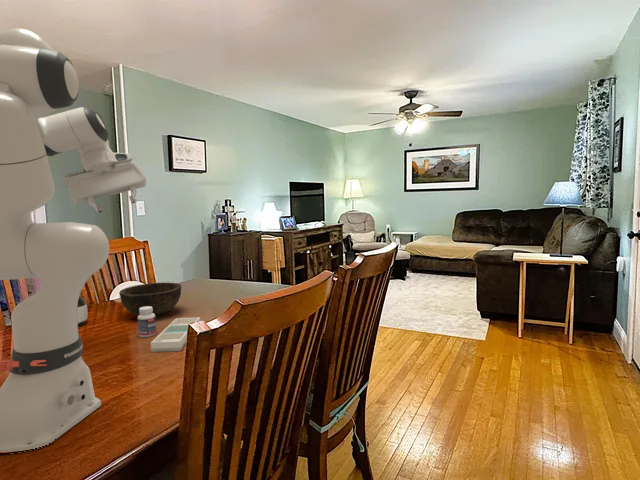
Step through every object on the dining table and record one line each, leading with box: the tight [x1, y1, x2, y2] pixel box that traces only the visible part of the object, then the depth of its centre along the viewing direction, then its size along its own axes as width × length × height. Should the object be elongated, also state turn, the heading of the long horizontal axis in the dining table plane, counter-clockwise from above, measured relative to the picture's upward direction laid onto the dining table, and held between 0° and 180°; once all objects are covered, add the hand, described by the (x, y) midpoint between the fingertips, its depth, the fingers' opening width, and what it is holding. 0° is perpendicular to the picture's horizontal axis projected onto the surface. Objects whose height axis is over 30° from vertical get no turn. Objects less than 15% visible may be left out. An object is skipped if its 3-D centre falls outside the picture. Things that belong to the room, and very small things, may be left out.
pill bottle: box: [137, 306, 157, 338], centre depth 130 cm, size 5×5×9 cm
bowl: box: [119, 282, 182, 316], centre depth 154 cm, size 22×22×10 cm
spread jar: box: [77, 295, 89, 327], centre depth 141 cm, size 12×11×12 cm
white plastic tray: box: [150, 316, 201, 353], centre depth 127 cm, size 23×8×3 cm, turn 2°
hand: (117, 206), depth 116 cm, fingers open, 8 cm apart
